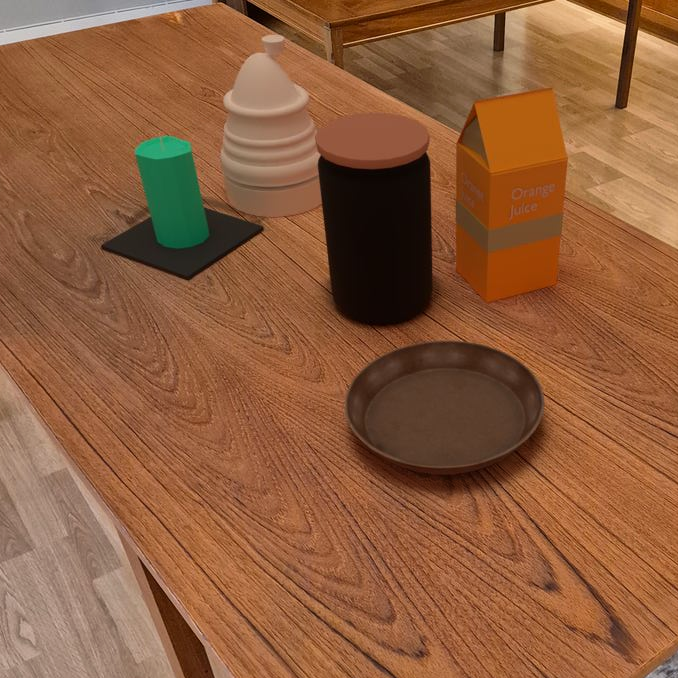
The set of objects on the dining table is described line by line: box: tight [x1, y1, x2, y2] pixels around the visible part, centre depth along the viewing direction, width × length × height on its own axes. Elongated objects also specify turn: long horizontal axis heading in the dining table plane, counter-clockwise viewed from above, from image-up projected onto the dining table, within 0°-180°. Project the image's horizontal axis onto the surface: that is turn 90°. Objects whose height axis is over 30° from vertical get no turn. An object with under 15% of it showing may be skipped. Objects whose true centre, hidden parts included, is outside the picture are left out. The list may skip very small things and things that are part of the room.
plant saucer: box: [344, 340, 545, 476], centre depth 80 cm, size 18×18×3 cm
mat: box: [100, 206, 265, 281], centre depth 103 cm, size 13×13×1 cm
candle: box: [134, 132, 209, 249], centre depth 99 cm, size 6×6×12 cm
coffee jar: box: [315, 111, 434, 327], centre depth 89 cm, size 11×11×18 cm
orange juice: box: [455, 87, 569, 304], centre depth 92 cm, size 8×9×20 cm
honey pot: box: [219, 34, 322, 218], centre depth 106 cm, size 13×13×18 cm
